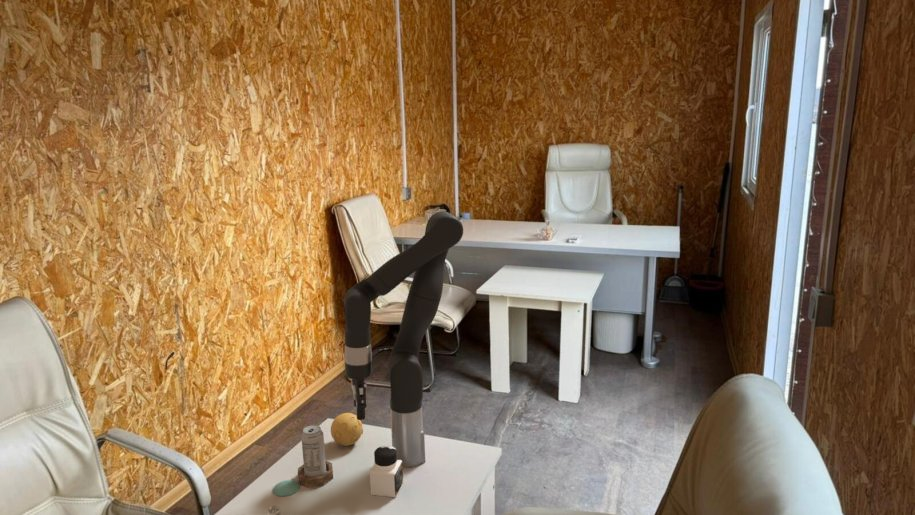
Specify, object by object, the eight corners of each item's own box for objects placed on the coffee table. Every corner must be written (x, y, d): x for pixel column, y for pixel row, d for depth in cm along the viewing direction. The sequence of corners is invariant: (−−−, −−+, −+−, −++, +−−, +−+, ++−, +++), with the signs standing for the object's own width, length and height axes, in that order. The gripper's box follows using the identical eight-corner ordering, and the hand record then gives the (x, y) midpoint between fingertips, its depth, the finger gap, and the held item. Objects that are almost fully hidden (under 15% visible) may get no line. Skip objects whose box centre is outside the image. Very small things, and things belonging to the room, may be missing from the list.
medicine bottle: (395, 498, 164) (393, 457, 161) (370, 495, 165) (368, 455, 163) (403, 482, 171) (401, 443, 168) (379, 480, 172) (376, 441, 169)
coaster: (299, 479, 173) (299, 478, 173) (299, 494, 166) (299, 492, 166) (273, 483, 172) (273, 482, 171) (272, 498, 165) (272, 496, 165)
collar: (332, 465, 180) (331, 458, 179) (333, 484, 171) (333, 476, 170) (298, 470, 178) (297, 462, 177) (298, 489, 168) (297, 481, 168)
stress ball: (331, 443, 194) (321, 437, 185) (342, 413, 198) (333, 405, 189) (360, 451, 192) (351, 446, 183) (370, 421, 196) (362, 414, 187)
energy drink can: (330, 473, 176) (327, 425, 173) (319, 485, 170) (315, 436, 167) (312, 469, 178) (308, 422, 174) (300, 481, 172) (296, 433, 169)
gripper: (374, 367, 166) (375, 422, 169) (368, 349, 179) (369, 400, 183) (346, 370, 164) (348, 425, 167) (342, 351, 177) (344, 402, 181)
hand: (359, 412), depth 175 cm, fingers open, 8 cm apart
